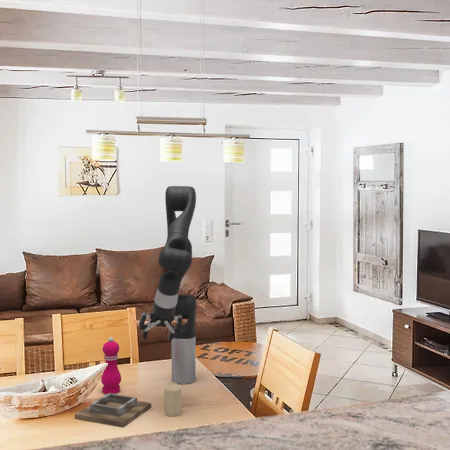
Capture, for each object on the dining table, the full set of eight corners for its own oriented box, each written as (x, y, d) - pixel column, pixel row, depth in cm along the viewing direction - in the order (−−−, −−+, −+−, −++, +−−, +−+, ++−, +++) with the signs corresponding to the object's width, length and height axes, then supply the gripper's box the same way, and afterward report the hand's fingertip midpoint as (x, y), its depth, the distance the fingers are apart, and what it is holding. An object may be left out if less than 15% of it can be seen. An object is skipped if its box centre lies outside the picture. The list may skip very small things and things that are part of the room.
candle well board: (106, 399, 205) (105, 388, 205) (151, 407, 198) (151, 395, 198) (74, 418, 188) (74, 406, 188) (123, 427, 182) (123, 414, 181)
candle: (178, 417, 190) (178, 386, 189) (162, 415, 191) (161, 385, 190) (182, 410, 195) (182, 381, 195) (167, 409, 196) (167, 380, 196)
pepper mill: (97, 393, 211) (96, 338, 210) (108, 386, 218) (108, 333, 217) (114, 395, 209) (113, 340, 207) (125, 389, 215) (124, 335, 214)
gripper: (184, 296, 203) (175, 333, 210) (144, 292, 199) (136, 330, 206) (187, 309, 196) (178, 347, 203) (145, 305, 192) (137, 344, 199)
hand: (157, 339), depth 205 cm, fingers open, 8 cm apart
